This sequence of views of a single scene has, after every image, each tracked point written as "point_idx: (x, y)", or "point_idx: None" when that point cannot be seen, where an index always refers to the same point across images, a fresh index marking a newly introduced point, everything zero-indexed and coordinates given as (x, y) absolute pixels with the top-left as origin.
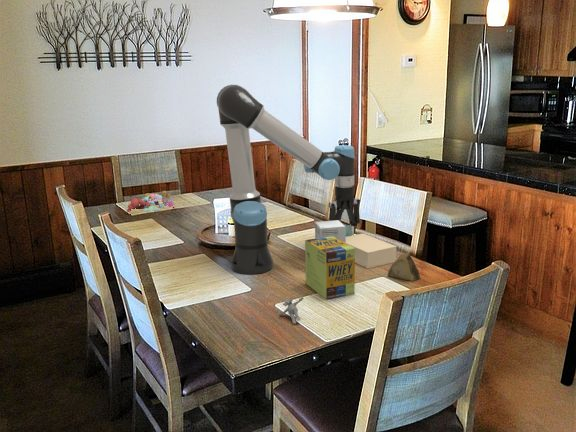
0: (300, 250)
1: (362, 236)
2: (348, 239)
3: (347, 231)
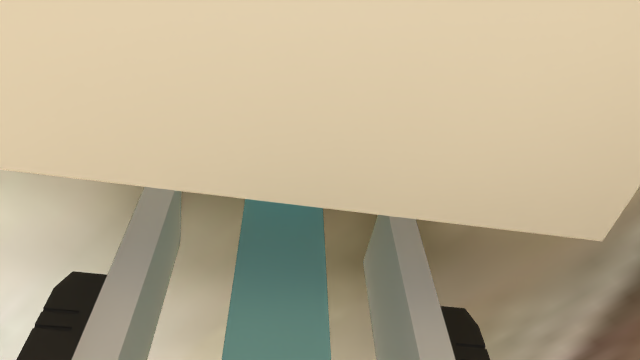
0: (609, 351)
1: (77, 2)
2: (511, 64)
3: (262, 324)
